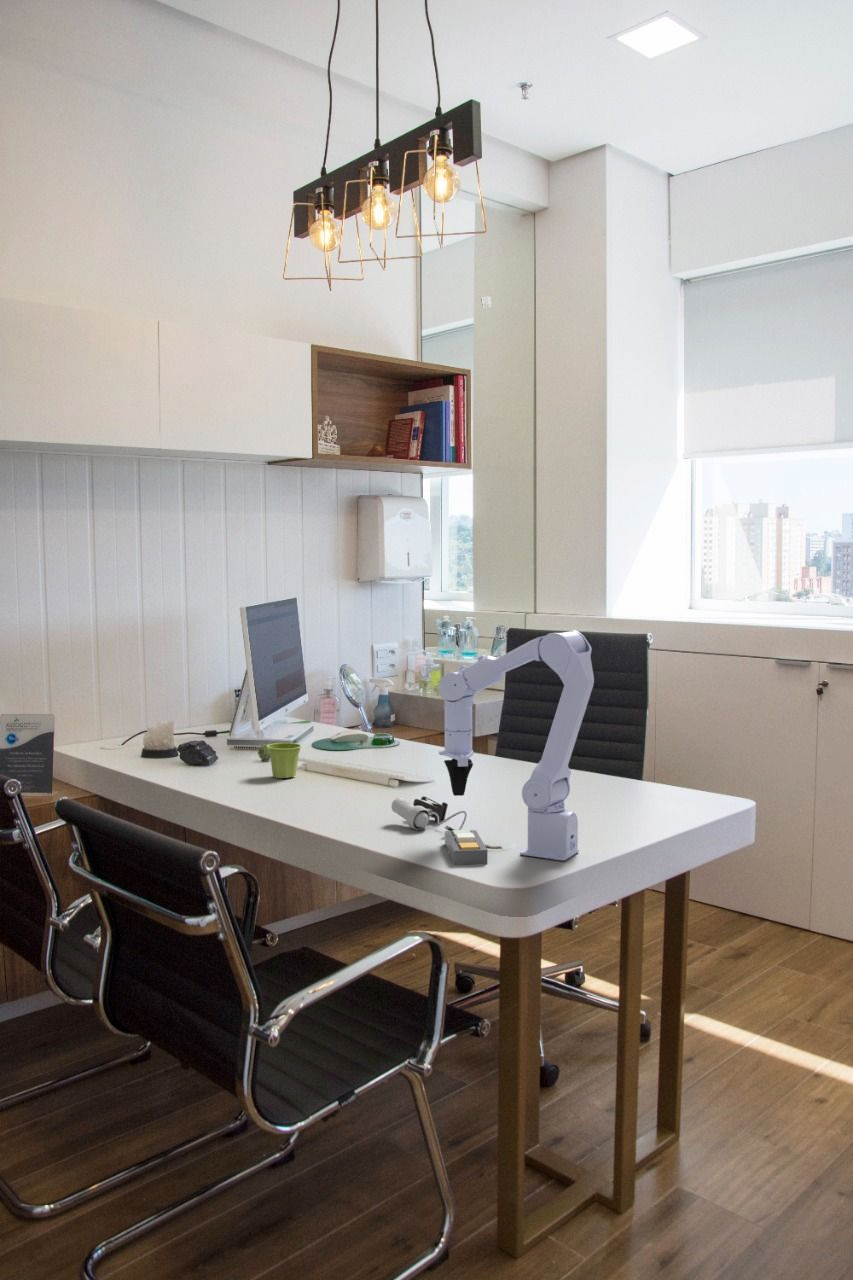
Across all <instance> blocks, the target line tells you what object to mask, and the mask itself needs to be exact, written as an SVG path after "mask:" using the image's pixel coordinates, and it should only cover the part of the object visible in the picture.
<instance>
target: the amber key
mask: <svg viewBox="0 0 853 1280" xmlns="http://www.w3.org/2000/svg"><path fill="white" fill-rule="evenodd" d="M459 849H460V850H470V849H479V846H478V844H477V843H476V842H470V843H459Z"/></svg>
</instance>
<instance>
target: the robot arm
mask: <svg viewBox="0 0 853 1280" xmlns="http://www.w3.org/2000/svg"><path fill="white" fill-rule="evenodd" d="M592 649H593V648H592V646H591V644H590V643H589V642H588V640H587V639H586V637H585V635H584V634H582V633H581V632H579V631H577V630H568V631H565V632H550V633H547V634H546V635H544V636H538V637H536V638H533V639H532V640H529V641H528V642H525V643H524V644H522V645H520V646H518V647H516V648H514V649H513V650H511V651H508V652H507V653H505V654H503V655H501V656H499V657H495V656H492V655H484V654H483V655H480V656H478V657H477V661H475V662H473V663H471V664H469V665H467V666H466V665H462V666H459V670H458V671H448V672H446V674H445V675H443V676H442V677H441V679H440V681H439V684H438V685H439V686H438V688H439V692H440V695H441V696H442V697H443V698H444V750H442V749H441V750H438V754H439V755H440V756H445V757H448V758H451V759H447V760H444V761H443V763H444V764H445V767H446V769H447V772H448V776H449V781H450V786H451V791H452V795H453V796H455V797H458V796H465V792H466V787H467V782H468V778H469V774H470V772H471V770H472V768H473V767H474V762H473V760H472V758H471V757H473V755H474V751H473V704H474V696H475V695H476V694H477V693H479V692H481V691H483V690H485V689H487V688H489V687H491V686H494V685H496V684H498V683H500V682H502V680H503V679H504V675H505V673H507V672H509V671H512V670H514V669H516V668H518V667H521V666H523V665H526V664H527V663H530V662H532V661H533V662H534V661H536V662H542V661H543V662H544V663H545V664H546V665H547V666H548V667H549V668H550V669H551V670H553V671H554V672H555V674H557V675H558V677H559V678H560V680H561V682H562V683H563V688H562V691H561V695H560V698H559V701H558V705H557V708H556V712H555V714H554V718H553V720H552V724H551V728H550V731H549V733H548V736H547V740H546V743H545V747H544V749H543V753H542V756H541V759H540V760H539V761H538V763H537V764H536V766H535V767H534V769H533V770H532V772H531V775H530V777H529V779H528V780H527V781H526V782H525V783H524V784H523V786H522V789H521V797H522V801H523V803H524V804H525V805H526V806H527V848H525V849H523V850H521V851H519V855H520V856H528V857H532V858H533V857H534V858H540V859H541V858H542V859H548V860H555V861H566V860H568V859H569V858H571V857H572V856H575V854H577V853H579V851H580V849H578V846H579V844H578V843H579V842H578V840H579V839H578V835H579V833H578V832H579V831H578V830H579V829H578V827H579V825H578V824H579V823H578V822H579V821H578V816H577V814H576V813H575V812H573V811H569V810H567V809H566V808H565V806H566V805H565V800H567V798H568V797H569V795H570V791H571V785H570V776H571V773H572V772H571V769H570V768H569V762H570V760H571V757H572V754H573V751H574V747H575V744H576V741H577V739H578V735H579V731H580V729H581V725H582V722H583V719H584V716H585V713H586V711H587V708H588V707H587V706H588V704H589V700H590V697H591V693H592V691H593V688H594V683H595V676H594V670H593V665H592V664H593V663H592V658H591V655H592Z"/></svg>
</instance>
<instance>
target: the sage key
mask: <svg viewBox="0 0 853 1280" xmlns="http://www.w3.org/2000/svg"><path fill="white" fill-rule="evenodd" d="M456 833H471V832H470V829H461V830H458V829H454V830H453V837H456Z"/></svg>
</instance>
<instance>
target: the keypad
mask: <svg viewBox="0 0 853 1280" xmlns="http://www.w3.org/2000/svg"><path fill="white" fill-rule="evenodd" d="M469 830H470V829H469ZM470 832H471V833H473V834H474V836H475V842H476V843H477V844H478V846H479V849H470V850H460V849H459V843H456V837H453V831H449V830H444V845H445V847H446V849H447V851H448V853H449V855H450V859H451V861H452V862H453V863H452V864H454V865H476V864H477V865H478V864H482V865H483V864H488V849H487V847H486V844H485V843H484V841H483V840H482V839H481V836H480V835H479V833H478V831H477V830H476V829H471V830H470Z"/></svg>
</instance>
